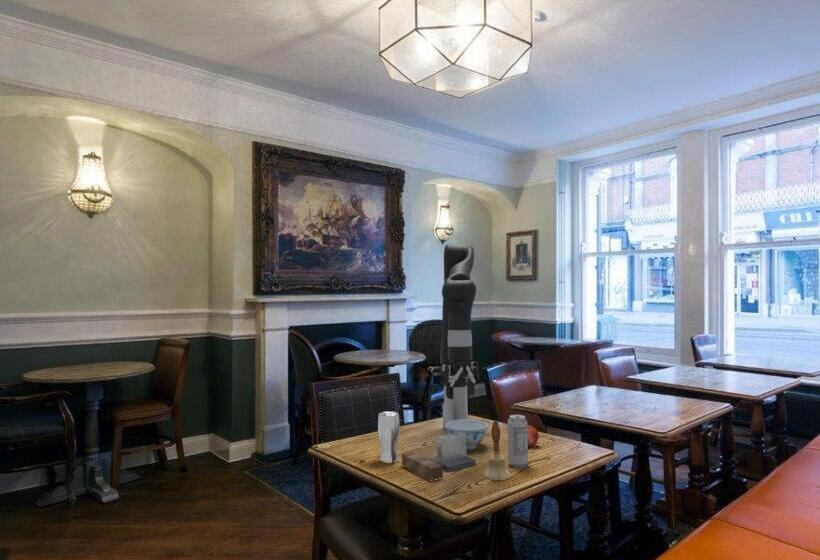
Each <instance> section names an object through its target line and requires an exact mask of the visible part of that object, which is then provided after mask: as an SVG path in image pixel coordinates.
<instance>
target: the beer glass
mask: <svg viewBox="0 0 820 560" xmlns="http://www.w3.org/2000/svg"><path fill="white" fill-rule="evenodd" d="M377 432H378V433H377V434H378V439H379V444H380V454H379V455H380V456H379V461H380V462H381V461H382V462H381V463H383V462H395V463H397V462H398V461H399V454H398V445H399V443H398V442H399V439H400V438H399V437H400V415H399V412H397V411H382V412H379V413H378V420H377ZM396 461H397V462H396Z"/></svg>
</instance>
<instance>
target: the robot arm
mask: <svg viewBox="0 0 820 560" xmlns="http://www.w3.org/2000/svg"><path fill="white" fill-rule="evenodd" d="M474 262H475V250H474V247H473V246H472V244H471V245H470V244H465V243H447V244H446V245H445V246H444V250H443V285H442V289H441V297H442V314H441V315H442V320H441V321H442V323H441V324H442V328H441V340H440V341H441V342H440V349H439V350H440V351H439V363H440V382H439V383H440V385H443V400H444V401H443V403H442V428H443V429H444V430H445V431H447V430H446V426H445V424H446V423H447V422H449V421H452V420H460V419H468V416H469V415H468V396H470V397H472V396H474V395H475V390H476V389H475V383H476V382H478V381H480V379H481V378H480V364H479V361H474V360H473V361H472V359H473V337H472V311H473V305H474V302H475V299H476V295H477V287H476V286H477V285H476V284H475V283H474V281H472V279H471V273H472V270H473V267H474Z"/></svg>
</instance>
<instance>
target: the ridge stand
mask: <svg viewBox="0 0 820 560" xmlns="http://www.w3.org/2000/svg"><path fill="white" fill-rule="evenodd" d="M428 459H429V460H431V461H434V462H436V463H438V464H440V465H442V466H443V471H445V470H446V471H445V472H448V473H449V472H450V473H451V472H454V471H458V470H461V469H464V468H469V467H472V466H475V465H477V460H476V459H475V458H473V457H470V456H467V449H466V433H463V432H458V433H453V434H449V435H448V434H444V435H440V436H437V437H436V456H433V457H428ZM457 469H458V470H457Z"/></svg>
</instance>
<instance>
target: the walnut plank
mask: <svg viewBox="0 0 820 560" xmlns="http://www.w3.org/2000/svg"><path fill="white" fill-rule="evenodd" d="M402 465H403V466H405V467H407V468H409V469H410V470H409V469H408V470H409V471H411V470H412V471H411V472H413V471H414V472H413V473H415V472H416V473H418V474H419V475H418V474H417V475H418V476H420V475H421V476H420V477H422V476H423V477H422V478H424V477H425V478H424V479H426V478H427V479H426V480H428V479H429V480H428V481H430V480H435V479H439V478H443V477H444V475H443V472H444V470H443V466H442V465H440V464H438V463H436V462H434V461H431V460H429V458H427V457H426V456H424V455H423V456H422V455H420V454H418V453H417V452H415V451H410V452H404V453H402V454H401V466H402ZM403 466H402V467H403ZM405 467H404V468H405ZM407 468H406V469H407ZM416 473H415V474H416ZM439 480H440V479H439ZM435 481H436V480H435Z"/></svg>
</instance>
